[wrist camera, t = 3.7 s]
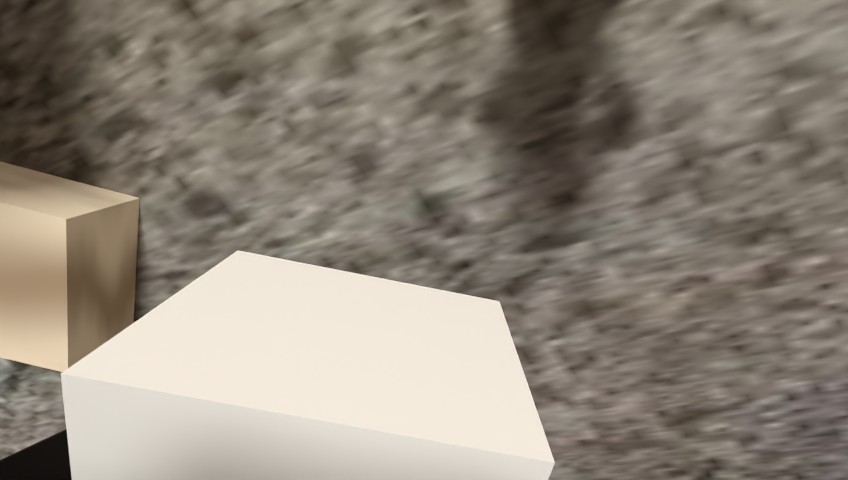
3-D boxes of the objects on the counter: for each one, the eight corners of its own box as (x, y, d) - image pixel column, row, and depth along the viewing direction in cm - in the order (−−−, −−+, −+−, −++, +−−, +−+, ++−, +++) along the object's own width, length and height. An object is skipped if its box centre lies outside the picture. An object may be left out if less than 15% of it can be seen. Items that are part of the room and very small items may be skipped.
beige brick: (136, 324, 20) (68, 373, 17) (-2, 290, 20) (-105, 332, 16) (143, 197, 18) (66, 219, 14) (-12, 156, 18) (-133, 168, 14)
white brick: (443, 493, 10) (449, 731, 6) (226, 455, 10) (92, 675, 6) (499, 301, 8) (555, 462, 4) (238, 250, 8) (61, 373, 4)
